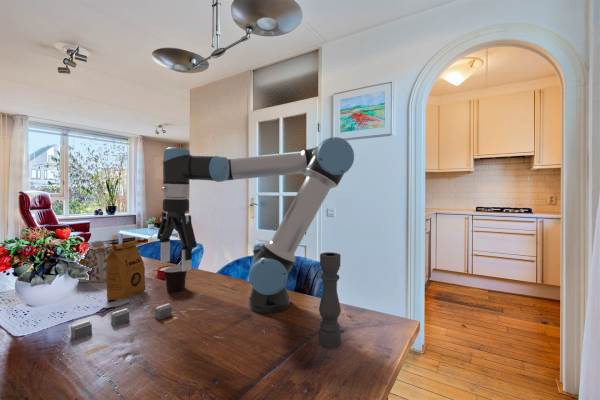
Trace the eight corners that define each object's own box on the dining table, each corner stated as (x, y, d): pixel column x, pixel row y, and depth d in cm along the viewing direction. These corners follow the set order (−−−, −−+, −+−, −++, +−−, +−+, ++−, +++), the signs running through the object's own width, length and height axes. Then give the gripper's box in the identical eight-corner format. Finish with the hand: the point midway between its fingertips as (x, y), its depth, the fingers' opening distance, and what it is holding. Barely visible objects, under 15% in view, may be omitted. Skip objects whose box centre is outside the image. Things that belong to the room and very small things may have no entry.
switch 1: (92, 334, 81) (91, 322, 81) (74, 340, 77) (74, 327, 77) (88, 331, 82) (87, 319, 82) (71, 336, 79) (70, 324, 79)
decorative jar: (102, 282, 128) (100, 243, 127) (76, 282, 128) (75, 243, 128) (119, 274, 140) (118, 239, 139) (96, 274, 140) (95, 238, 140)
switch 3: (171, 315, 93) (171, 304, 93) (159, 319, 90) (159, 308, 89) (166, 312, 94) (166, 302, 94) (154, 317, 91) (154, 306, 91)
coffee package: (149, 292, 116) (148, 240, 116) (122, 304, 105) (120, 246, 104) (131, 289, 120) (130, 238, 119) (102, 300, 108) (101, 244, 107)
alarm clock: (167, 264, 146) (188, 261, 140) (169, 276, 146) (190, 274, 140) (149, 270, 137) (170, 266, 130) (151, 282, 136) (173, 280, 130)
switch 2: (129, 320, 89) (129, 309, 89) (115, 325, 86) (115, 314, 85) (125, 318, 91) (125, 307, 90) (111, 323, 87) (110, 311, 87)
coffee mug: (181, 296, 112) (181, 272, 112) (160, 296, 112) (159, 272, 112) (193, 286, 124) (193, 264, 123) (173, 286, 124) (173, 264, 123)
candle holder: (335, 350, 75) (335, 258, 74) (314, 344, 78) (315, 255, 77) (344, 340, 80) (344, 253, 79) (324, 334, 84) (325, 251, 83)
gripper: (146, 196, 92) (145, 260, 93) (185, 200, 76) (184, 277, 77) (169, 196, 98) (168, 256, 99) (209, 200, 82) (208, 271, 83)
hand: (175, 266), depth 88 cm, fingers open, 13 cm apart
